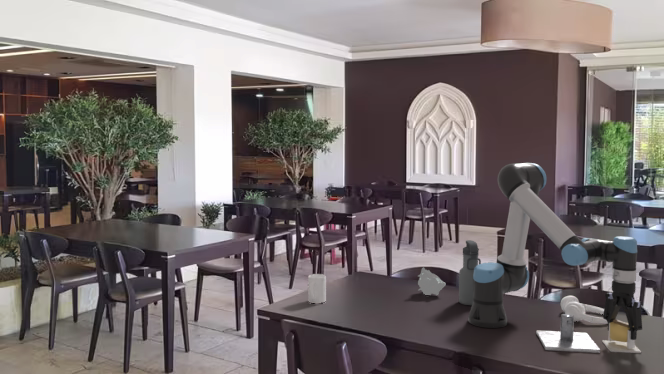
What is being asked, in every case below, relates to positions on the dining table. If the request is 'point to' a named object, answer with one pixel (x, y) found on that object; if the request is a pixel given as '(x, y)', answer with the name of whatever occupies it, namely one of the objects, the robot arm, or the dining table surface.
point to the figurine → (430, 282)
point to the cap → (619, 330)
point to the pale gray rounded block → (317, 288)
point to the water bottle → (468, 272)
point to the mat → (619, 347)
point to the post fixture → (567, 338)
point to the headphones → (581, 310)
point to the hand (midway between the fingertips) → (621, 344)
